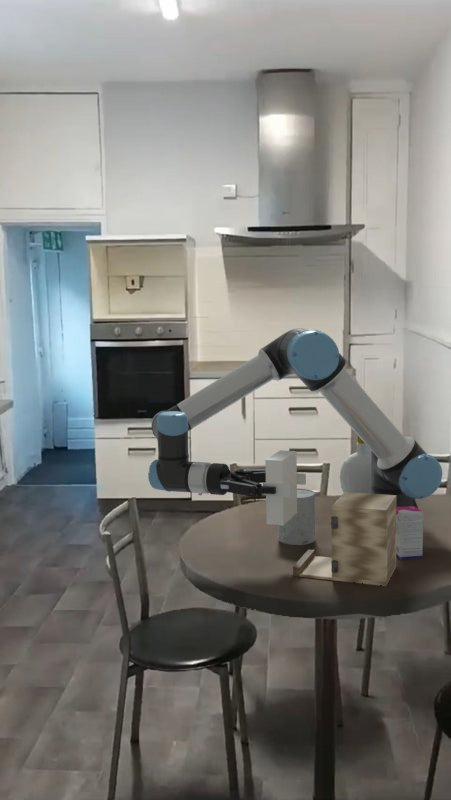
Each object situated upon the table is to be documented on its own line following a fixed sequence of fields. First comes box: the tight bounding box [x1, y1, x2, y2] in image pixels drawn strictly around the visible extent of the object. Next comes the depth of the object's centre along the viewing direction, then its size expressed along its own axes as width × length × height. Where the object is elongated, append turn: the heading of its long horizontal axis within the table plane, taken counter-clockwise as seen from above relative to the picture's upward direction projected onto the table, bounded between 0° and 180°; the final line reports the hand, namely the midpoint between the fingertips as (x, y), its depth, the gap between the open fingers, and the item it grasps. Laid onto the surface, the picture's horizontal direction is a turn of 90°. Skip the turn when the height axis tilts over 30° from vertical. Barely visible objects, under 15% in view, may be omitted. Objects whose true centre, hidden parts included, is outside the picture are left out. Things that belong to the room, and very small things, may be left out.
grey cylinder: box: [278, 488, 316, 546], centre depth 209 cm, size 10×10×12 cm
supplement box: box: [396, 506, 424, 560], centre depth 195 cm, size 6×6×12 cm
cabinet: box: [292, 492, 397, 587], centre depth 183 cm, size 21×14×17 cm
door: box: [264, 450, 298, 526], centre depth 188 cm, size 5×11×15 cm, turn 158°
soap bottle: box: [339, 435, 371, 494], centre depth 241 cm, size 14×9×26 cm, turn 70°
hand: (298, 484), depth 186 cm, fingers closed on door, 11 cm apart
